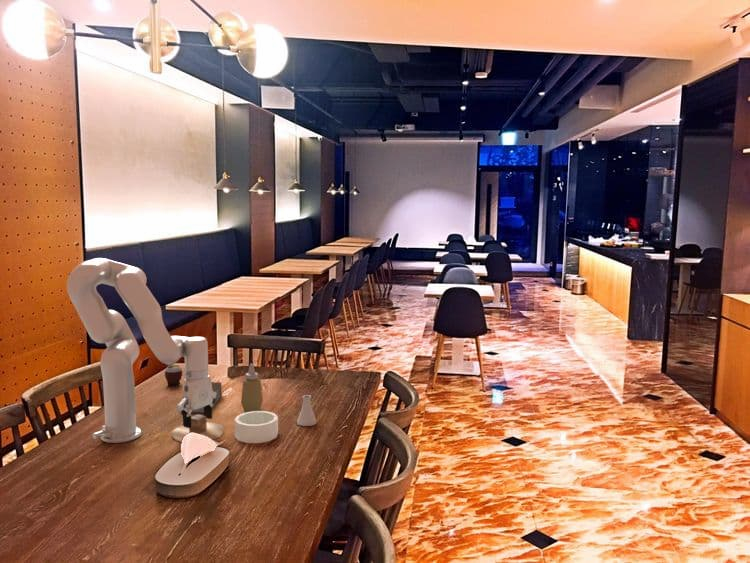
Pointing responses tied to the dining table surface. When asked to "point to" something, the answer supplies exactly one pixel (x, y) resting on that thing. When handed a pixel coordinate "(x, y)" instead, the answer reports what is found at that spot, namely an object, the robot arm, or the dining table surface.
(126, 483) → the dining table surface
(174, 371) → the mate gourd
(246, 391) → the squeeze bottle
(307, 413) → the flask
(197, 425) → the lid
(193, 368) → the robot arm
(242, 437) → the bowl
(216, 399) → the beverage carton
